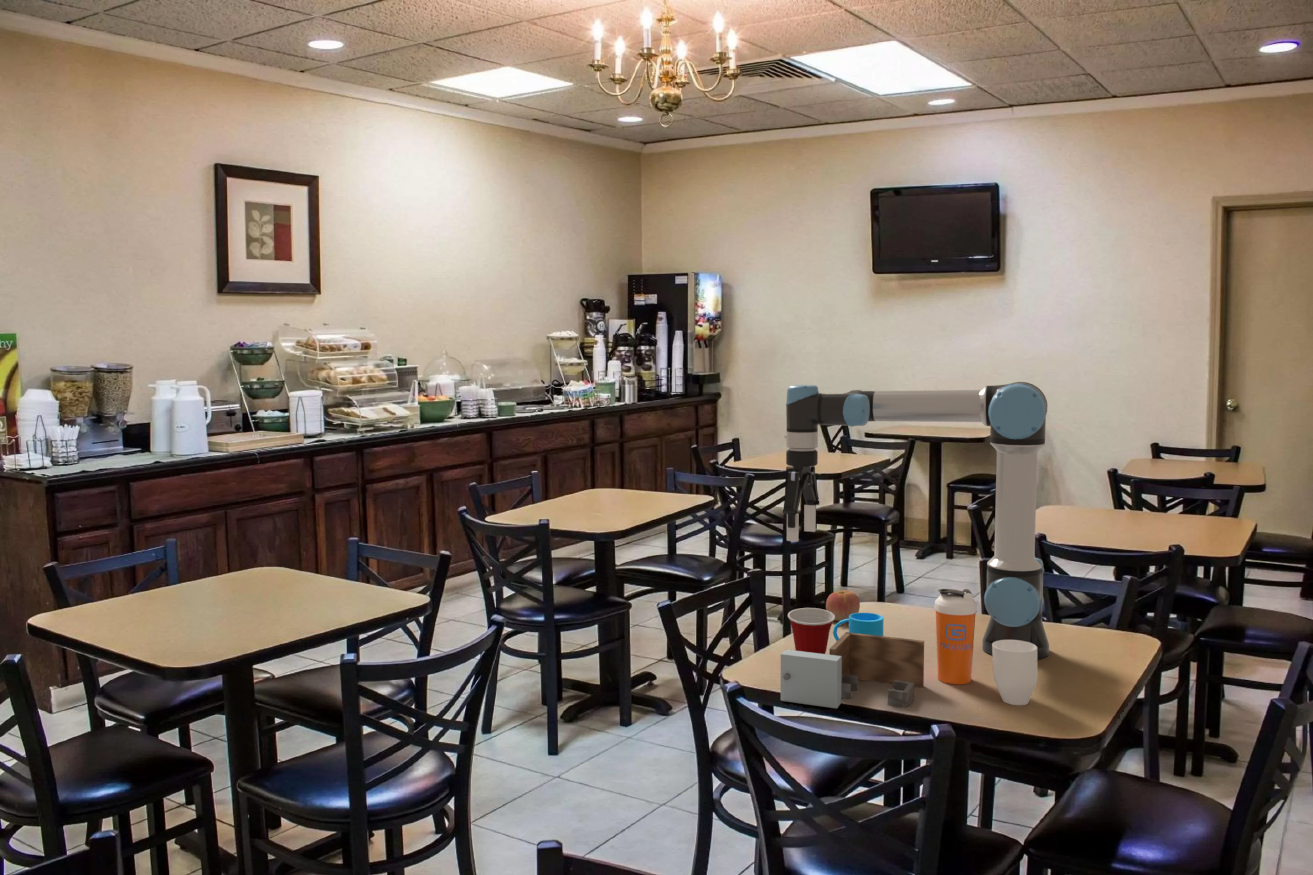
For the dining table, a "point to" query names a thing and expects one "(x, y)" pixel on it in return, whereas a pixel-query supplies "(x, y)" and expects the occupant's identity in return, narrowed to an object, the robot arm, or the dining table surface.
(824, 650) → the plastic cup
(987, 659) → the dining table surface
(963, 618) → the shaker bottle
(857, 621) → the mug
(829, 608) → the apple
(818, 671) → the door
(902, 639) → the cabinet
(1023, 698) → the mug
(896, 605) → the dining table surface
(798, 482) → the robot arm
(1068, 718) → the dining table surface
